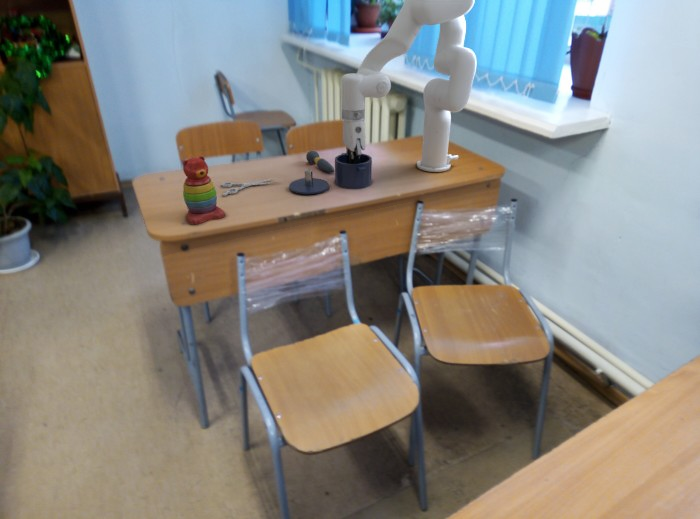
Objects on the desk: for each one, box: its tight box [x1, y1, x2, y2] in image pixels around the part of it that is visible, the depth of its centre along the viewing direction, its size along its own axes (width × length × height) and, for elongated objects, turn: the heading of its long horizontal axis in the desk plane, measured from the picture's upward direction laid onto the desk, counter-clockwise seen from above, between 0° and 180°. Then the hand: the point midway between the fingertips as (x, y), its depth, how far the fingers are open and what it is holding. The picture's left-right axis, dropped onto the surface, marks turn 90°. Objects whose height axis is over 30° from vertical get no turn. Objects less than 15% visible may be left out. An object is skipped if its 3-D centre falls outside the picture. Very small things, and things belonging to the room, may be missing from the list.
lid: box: [288, 169, 330, 195], centre depth 162 cm, size 14×14×6 cm
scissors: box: [221, 178, 277, 197], centre depth 165 cm, size 11×1×20 cm
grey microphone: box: [305, 150, 335, 174], centre depth 180 cm, size 20×5×5 cm, turn 38°
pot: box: [334, 152, 373, 190], centre depth 166 cm, size 13×18×8 cm
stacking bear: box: [182, 155, 226, 225], centre depth 140 cm, size 11×10×18 cm
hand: (352, 167), depth 165 cm, fingers closed on marker, 2 cm apart
